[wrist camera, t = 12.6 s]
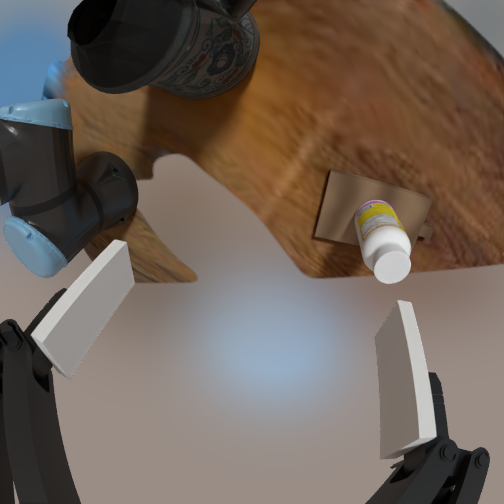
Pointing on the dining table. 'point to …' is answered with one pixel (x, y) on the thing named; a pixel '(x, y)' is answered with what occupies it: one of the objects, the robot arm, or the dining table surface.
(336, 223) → the walnut board
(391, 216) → the supplement bottle
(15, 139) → the robot arm
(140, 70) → the beer stein
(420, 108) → the dining table surface
